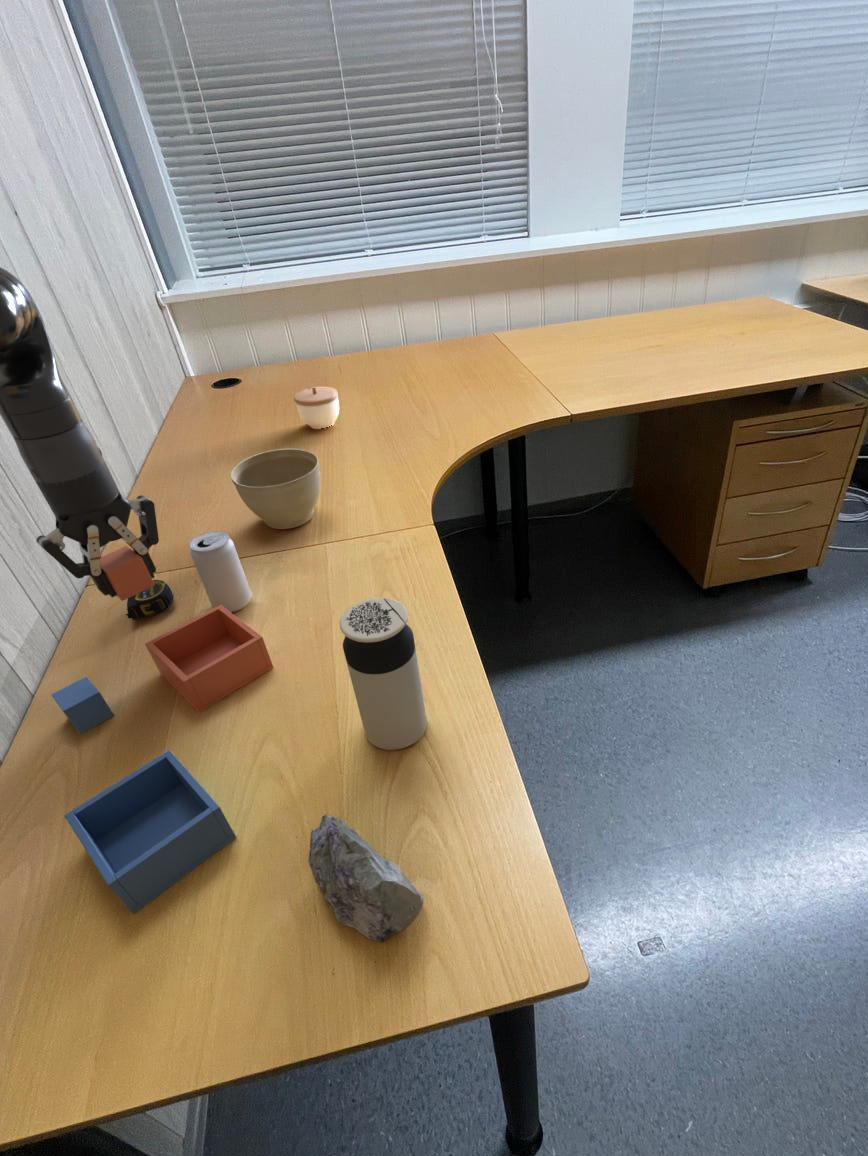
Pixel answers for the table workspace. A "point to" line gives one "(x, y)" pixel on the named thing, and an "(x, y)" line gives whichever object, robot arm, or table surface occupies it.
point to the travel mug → (384, 672)
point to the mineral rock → (361, 882)
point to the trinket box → (318, 406)
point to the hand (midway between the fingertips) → (130, 584)
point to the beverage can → (220, 570)
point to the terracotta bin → (210, 656)
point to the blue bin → (150, 830)
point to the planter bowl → (279, 486)
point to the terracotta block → (126, 572)
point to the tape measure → (150, 601)
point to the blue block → (83, 705)
